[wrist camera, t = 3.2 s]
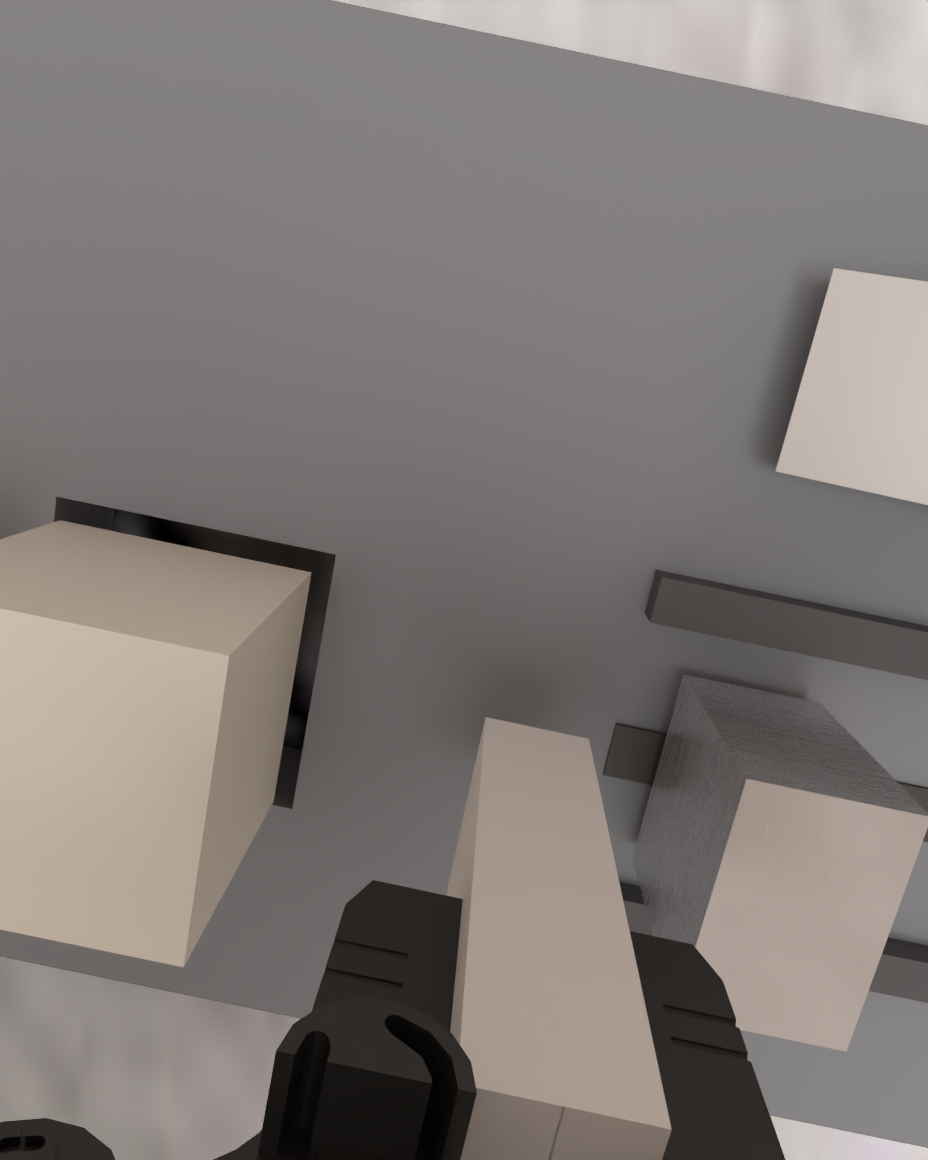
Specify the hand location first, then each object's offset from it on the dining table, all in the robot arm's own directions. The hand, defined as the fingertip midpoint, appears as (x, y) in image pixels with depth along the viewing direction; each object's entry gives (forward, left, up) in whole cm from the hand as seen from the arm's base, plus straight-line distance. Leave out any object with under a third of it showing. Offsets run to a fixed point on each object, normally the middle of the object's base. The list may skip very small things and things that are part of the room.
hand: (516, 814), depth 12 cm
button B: (-6, 0, -3) cm, 7 cm away
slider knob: (+4, 0, -3) cm, 5 cm away
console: (0, +2, -6) cm, 6 cm away
